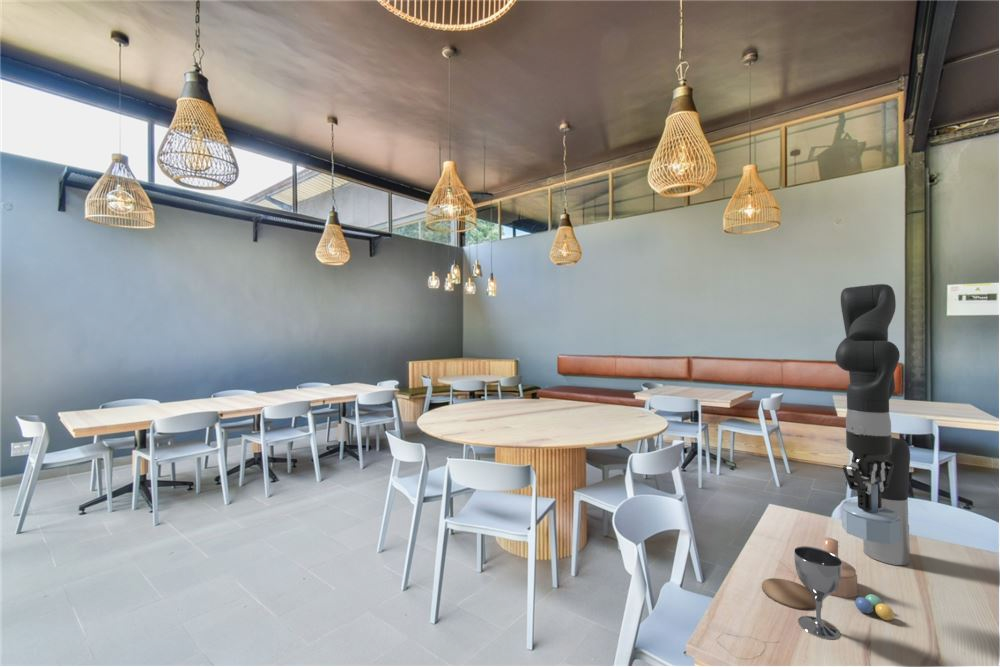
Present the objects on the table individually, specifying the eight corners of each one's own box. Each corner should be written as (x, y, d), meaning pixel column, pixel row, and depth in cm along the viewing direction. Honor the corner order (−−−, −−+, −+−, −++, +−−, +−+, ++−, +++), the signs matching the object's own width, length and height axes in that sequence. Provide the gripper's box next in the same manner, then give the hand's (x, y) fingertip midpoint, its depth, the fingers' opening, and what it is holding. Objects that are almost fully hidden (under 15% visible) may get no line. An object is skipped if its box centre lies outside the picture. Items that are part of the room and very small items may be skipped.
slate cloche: (860, 521, 97) (859, 474, 97) (909, 539, 89) (908, 487, 89) (833, 527, 94) (832, 479, 94) (881, 547, 86) (880, 493, 86)
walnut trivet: (783, 577, 105) (783, 574, 105) (830, 603, 95) (830, 600, 95) (751, 585, 101) (751, 583, 101) (795, 614, 91) (795, 611, 91)
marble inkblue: (860, 606, 93) (860, 593, 93) (876, 614, 90) (876, 601, 91) (852, 609, 92) (851, 596, 92) (867, 618, 90) (867, 604, 90)
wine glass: (852, 643, 82) (850, 568, 82) (807, 638, 84) (806, 564, 84) (829, 617, 90) (827, 548, 90) (788, 612, 92) (787, 544, 92)
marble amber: (880, 612, 91) (880, 599, 91) (897, 621, 88) (897, 607, 88) (871, 615, 90) (871, 602, 90) (888, 624, 87) (888, 610, 87)
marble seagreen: (870, 603, 94) (870, 590, 94) (886, 611, 92) (886, 598, 92) (861, 606, 93) (861, 592, 93) (877, 614, 91) (877, 600, 91)
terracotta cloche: (824, 571, 107) (823, 529, 107) (865, 592, 98) (864, 545, 98) (799, 579, 104) (798, 534, 104) (839, 600, 95) (838, 552, 95)
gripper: (868, 424, 97) (870, 497, 97) (828, 429, 93) (829, 506, 93) (909, 431, 90) (910, 510, 90) (866, 437, 86) (868, 520, 86)
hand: (869, 508), depth 91 cm, fingers closed on slate cloche, 3 cm apart
